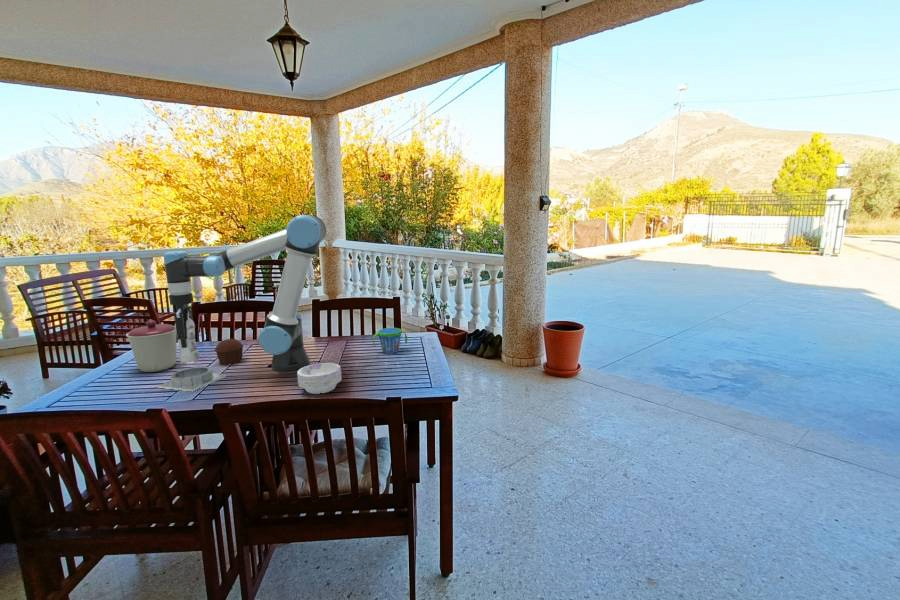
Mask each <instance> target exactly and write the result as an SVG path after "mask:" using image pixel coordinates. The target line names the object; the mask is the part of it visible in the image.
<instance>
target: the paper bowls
mask: <svg viewBox="0 0 900 600" xmlns="http://www.w3.org/2000/svg"><path fill="white" fill-rule="evenodd" d="M296 375H297V384H298V387H299V388H302V389H304V390H305V392H307V393H309V394H313V395H321V394H320V393H322V394H327V393H329V392H331V391H333V390H334V389H336V387H337V384H339V383H340V382H342V367H341V365H339V364H337V363H334V362H321V363H319V362H318V363H314V364H309V365H308V366H305V367H303V368H301V369H299V370H297V373H296Z"/></svg>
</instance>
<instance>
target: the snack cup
mask: <svg viewBox="0 0 900 600" xmlns="http://www.w3.org/2000/svg"><path fill="white" fill-rule="evenodd" d="M402 333H403V334H404V337H405V341H404V343H405V344H407V343H408V335H407V333H406V331H404V330H402V329H401V328H398V327H386V328H385V327H384V328H382V329H379V330H378V331H377V332H376V333H374V335H373V337H372V345H373V347H376V345H375V338H376V337H377V336H378V339H379V341H380V345H381V350H382V353H383V354H386V353H392V354H396V353H398V352H399V351H400V344H401V343H400V342H401V336H402V335H401V334H402ZM395 352H396V353H395Z"/></svg>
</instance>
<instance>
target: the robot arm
mask: <svg viewBox="0 0 900 600" xmlns="http://www.w3.org/2000/svg"><path fill="white" fill-rule="evenodd" d="M326 234H327V227H326V225H325V222H324V221H323V220H322V219H321V218H320V217H318V216H316V215H312V214H300V215H297V216H295V217H292V219H291V220H290V221H289V222H288V223H287V225H286V228H285V229H282V230H278V231H276V232H273V233H271V234H267V235H265V236H262V237H259V238H257V239H254V240H251V241H249V242H244V243H243V244H240V245H237V246H234V247H232V248H228V249H226V250H222V251H220V252H217V253H213V254H208V255H202V256H200V255H199V256H189V255H188V252H187V251H184V250H183V251H182V250H181V251H179V250H178V251H168V252H167V251H166V252H165V253H163V266H164V269H165V277H166V286H165V287H166V288H167V291H168V294H169V296H168V298H169V304H170V305H171V306H176V309H175V312H173V317H174V322H175V323H176V331H177V333H176V341H179V340H180V346H181V353H182V356H190V355H191V354H190V346H189V339H188V338H187V327H186V322H187V320H188V311H189V318H190V319H191V320H192V321H193V322H194V319H193V313H192V310H193V309H192V305H191V304H192V303H194V296H193V295H194V294H193V293H192V291H193V287H192V281H191V278H195V277H196V278H197V277H198V278H199V277H200V278H201V277H202V278H205V277H211V278H214V277H220V276H223V275H224V273H226V272H228V271H229V270H232V269H235V268H238V267H241V266H243V265H246V264H250V263H252V262H254V261H257V260H260V259H263V258H266V257H269V256H272V255H274V254H278V253H280V252H283V251H285V250H286V251H287V253H286V258H285V262H284V266H283V270H282V273H281V277H280V282H279V286H278V289H277V293H276V297H275V301H274V305H273V308H272V312H270V313H267V315H266V319H265V322H264V327H263V328H262V329H261V331H260V332H259V335H258V345H259V347H260V348H261V350H263V351H264V352H265V353H267V354H269V355H272V358H271V364H270V365H271V370H273V371H275V372H280V373H281V372H286V373H287V372H294V371H298V370H299V369H301V368H303V367H305V366H308V365H311V364H310V357H309V356H308V353H307V351H306V349H305V346H304V335H303V326H302V325H303V322H302V320H303V319H302V315H301V313H300V312H298V310H299V305H300V302H301V299H302V294H303V291H304V286H305V283H306V279H307V276H308V271H309V268H310V265H311V260H312V258H314V257H317V254H318V252H319V248H320V247H319V246H320V243H321V242H323V240H324V239H325V237H326ZM175 323H174V324H175ZM181 335H182V336H181Z"/></svg>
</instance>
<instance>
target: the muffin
mask: <svg viewBox="0 0 900 600" xmlns="http://www.w3.org/2000/svg"><path fill="white" fill-rule="evenodd" d="M243 348H244V344H242V343H241V341H239V340H237V339H235V338H226V339H223V340H221V341H220V342H219V343H218V344H217V346H216V347H215V349H214V351H215V352H216V356H217V360H218V362H219V364H220V365H221V364H222V365H221V366H230V365H229V364H232V365H235V364H238V363H240V361H241V362H242V361H243Z"/></svg>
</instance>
